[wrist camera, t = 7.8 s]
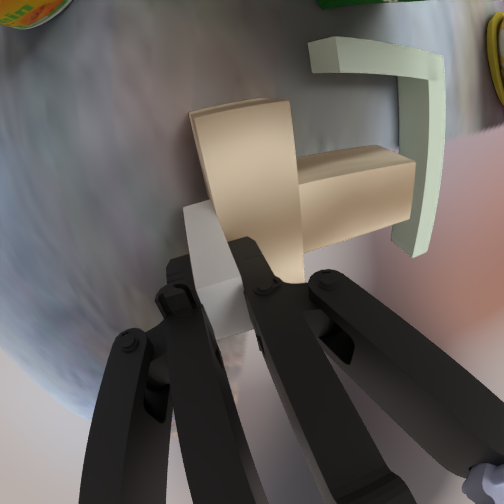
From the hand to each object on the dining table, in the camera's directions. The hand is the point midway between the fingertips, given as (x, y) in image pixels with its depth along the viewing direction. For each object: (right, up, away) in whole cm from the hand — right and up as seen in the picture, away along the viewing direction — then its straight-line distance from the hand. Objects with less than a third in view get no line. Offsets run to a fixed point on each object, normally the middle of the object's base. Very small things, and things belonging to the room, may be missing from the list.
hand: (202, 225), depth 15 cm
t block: (+6, +3, +3) cm, 7 cm away
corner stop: (+11, +5, +3) cm, 13 cm away
